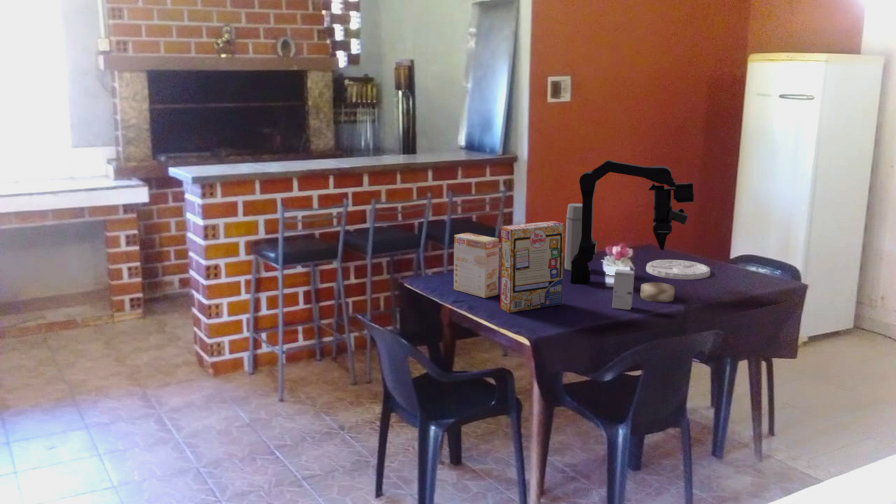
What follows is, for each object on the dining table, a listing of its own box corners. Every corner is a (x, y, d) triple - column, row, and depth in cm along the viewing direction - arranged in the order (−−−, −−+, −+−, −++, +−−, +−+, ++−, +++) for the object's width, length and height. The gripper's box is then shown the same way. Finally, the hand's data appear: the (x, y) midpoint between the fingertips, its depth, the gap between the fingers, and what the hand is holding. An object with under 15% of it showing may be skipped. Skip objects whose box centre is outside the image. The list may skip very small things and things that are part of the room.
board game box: (552, 300, 268) (555, 220, 262) (563, 305, 262) (566, 223, 256) (498, 308, 259) (500, 225, 253) (509, 313, 253) (511, 229, 247)
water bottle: (579, 272, 304) (582, 207, 299) (560, 269, 308) (562, 205, 303) (588, 267, 312) (591, 203, 306) (570, 265, 316) (572, 202, 310)
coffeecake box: (498, 294, 274) (499, 238, 270) (484, 298, 269) (485, 241, 265) (467, 286, 285) (467, 231, 280) (452, 289, 280) (453, 234, 276)
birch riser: (641, 301, 268) (642, 290, 267) (639, 293, 278) (639, 281, 277) (675, 303, 266) (676, 291, 265) (672, 294, 276) (672, 283, 276)
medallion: (664, 282, 293) (665, 275, 293) (631, 264, 319) (631, 259, 318) (722, 278, 299) (722, 272, 298) (685, 262, 324) (685, 256, 324)
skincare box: (611, 308, 259) (613, 271, 257) (613, 304, 263) (615, 268, 261) (631, 310, 257) (633, 273, 255) (632, 306, 262) (634, 270, 259)
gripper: (687, 207, 267) (687, 253, 271) (686, 198, 285) (685, 241, 288) (652, 207, 270) (652, 252, 274) (653, 198, 288) (653, 241, 291)
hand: (662, 247), depth 282 cm, fingers open, 9 cm apart
